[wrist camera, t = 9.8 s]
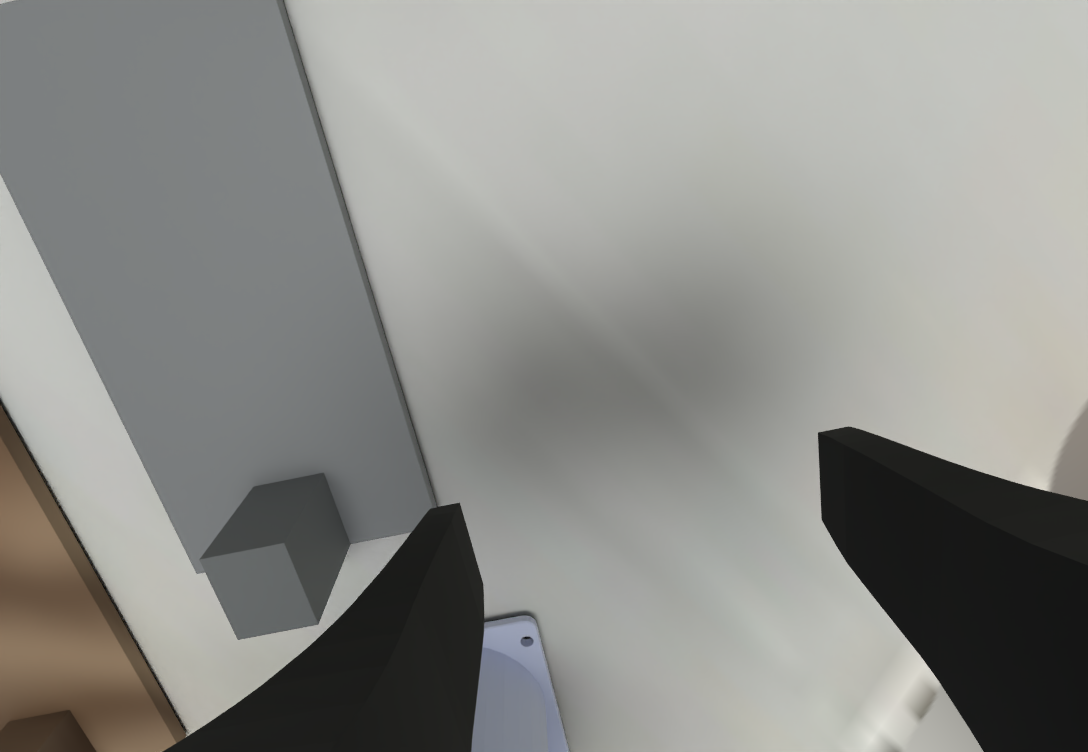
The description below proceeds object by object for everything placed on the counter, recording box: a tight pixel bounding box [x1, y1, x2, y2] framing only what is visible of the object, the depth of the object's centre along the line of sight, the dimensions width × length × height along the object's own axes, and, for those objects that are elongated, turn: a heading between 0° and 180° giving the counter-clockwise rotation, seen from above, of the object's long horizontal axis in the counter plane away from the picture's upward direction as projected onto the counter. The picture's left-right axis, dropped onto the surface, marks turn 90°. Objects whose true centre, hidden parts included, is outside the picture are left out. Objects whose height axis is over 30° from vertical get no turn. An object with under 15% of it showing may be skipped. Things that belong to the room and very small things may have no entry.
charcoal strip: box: [0, 0, 437, 640], centre depth 18 cm, size 18×9×5 cm, turn 11°
